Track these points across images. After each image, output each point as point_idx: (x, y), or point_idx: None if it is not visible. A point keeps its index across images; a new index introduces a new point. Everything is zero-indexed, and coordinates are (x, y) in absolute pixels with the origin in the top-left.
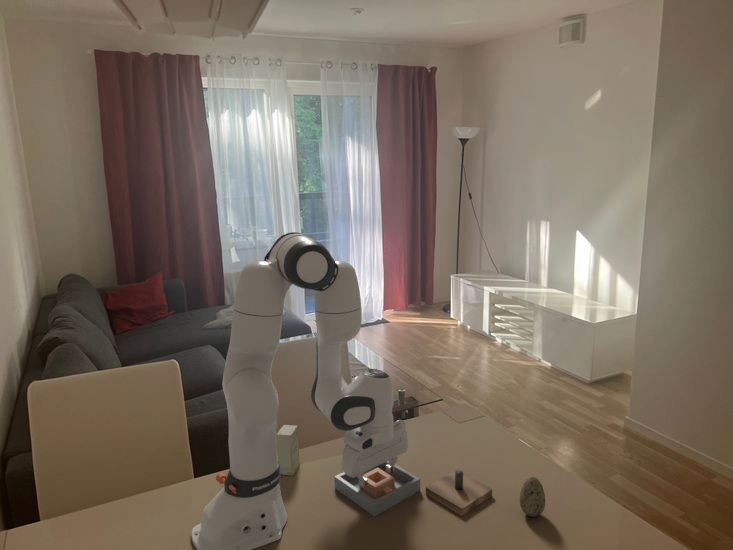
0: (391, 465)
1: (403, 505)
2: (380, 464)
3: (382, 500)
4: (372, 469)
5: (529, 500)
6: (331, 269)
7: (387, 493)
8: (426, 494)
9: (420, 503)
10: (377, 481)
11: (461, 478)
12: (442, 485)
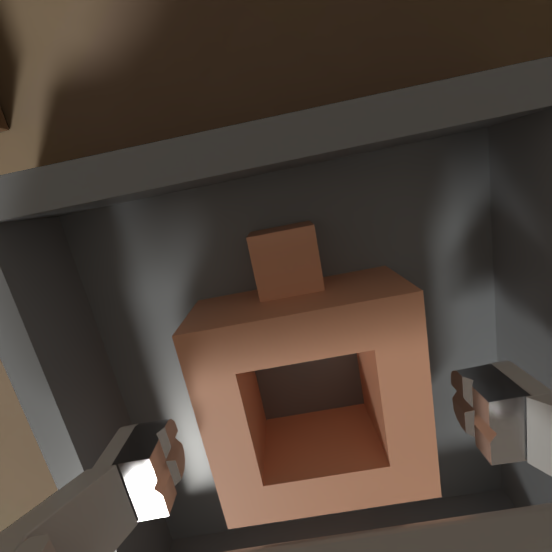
0: (117, 485)
1: (238, 99)
2: (345, 536)
3: (488, 70)
4: (228, 535)
5: None
6: None
7: (313, 228)
8: (5, 123)
9: (104, 45)
10: (267, 420)
11: None
12: None
